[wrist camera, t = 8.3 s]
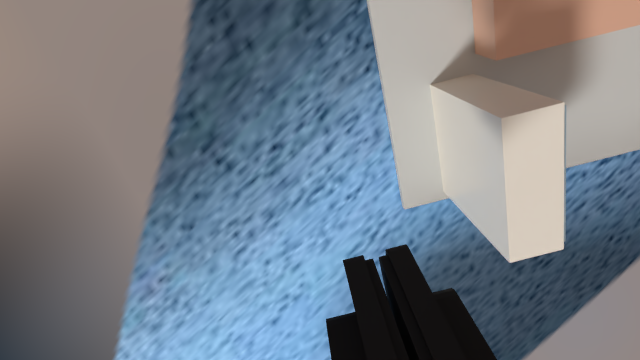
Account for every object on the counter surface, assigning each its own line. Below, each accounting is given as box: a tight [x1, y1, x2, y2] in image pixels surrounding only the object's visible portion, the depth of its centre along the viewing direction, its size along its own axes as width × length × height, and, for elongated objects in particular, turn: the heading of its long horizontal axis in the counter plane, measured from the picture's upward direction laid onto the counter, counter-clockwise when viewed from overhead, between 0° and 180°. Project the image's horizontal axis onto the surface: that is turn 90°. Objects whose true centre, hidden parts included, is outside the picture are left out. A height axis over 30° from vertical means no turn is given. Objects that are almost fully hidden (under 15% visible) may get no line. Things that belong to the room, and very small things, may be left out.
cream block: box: [430, 74, 566, 263], centre depth 18 cm, size 6×2×7 cm, turn 13°
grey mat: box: [367, 0, 640, 209], centre depth 20 cm, size 14×14×1 cm
